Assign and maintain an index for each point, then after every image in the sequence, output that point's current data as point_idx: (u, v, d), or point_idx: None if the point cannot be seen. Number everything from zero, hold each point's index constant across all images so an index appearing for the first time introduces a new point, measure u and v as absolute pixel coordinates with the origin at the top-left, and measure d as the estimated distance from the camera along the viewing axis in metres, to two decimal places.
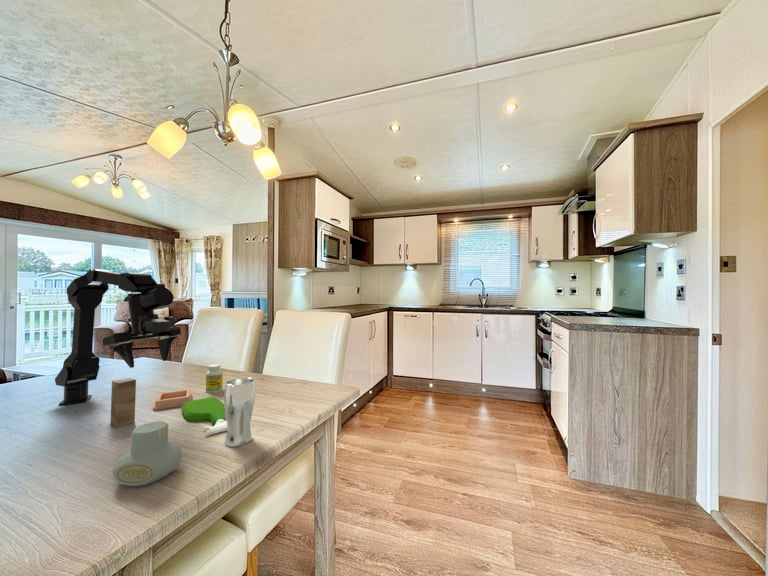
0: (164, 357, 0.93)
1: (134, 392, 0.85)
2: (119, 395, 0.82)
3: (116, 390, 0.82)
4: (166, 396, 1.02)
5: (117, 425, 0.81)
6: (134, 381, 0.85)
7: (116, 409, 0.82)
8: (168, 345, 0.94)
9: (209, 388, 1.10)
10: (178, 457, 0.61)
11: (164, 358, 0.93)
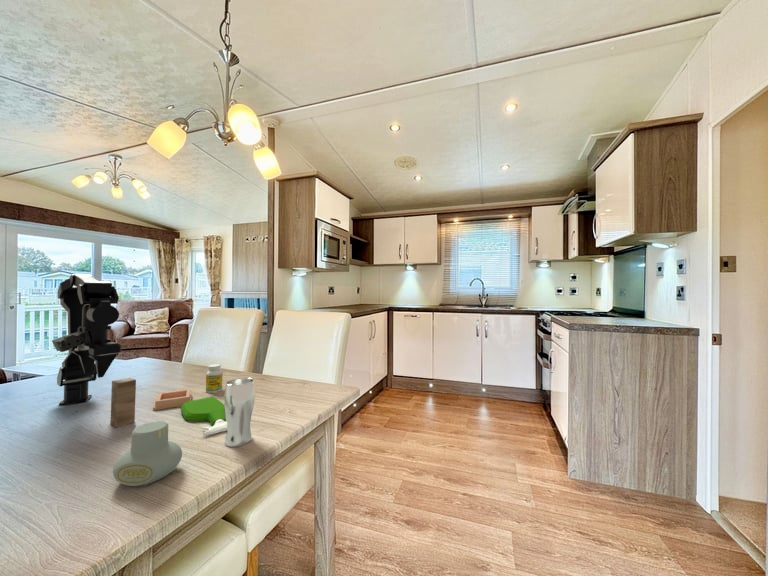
0: None
1: (134, 392, 0.85)
2: (119, 395, 0.82)
3: (116, 390, 0.82)
4: (166, 396, 1.02)
5: (117, 425, 0.81)
6: (134, 381, 0.85)
7: (116, 409, 0.82)
8: (96, 362, 0.85)
9: (209, 388, 1.10)
10: (178, 457, 0.61)
11: None
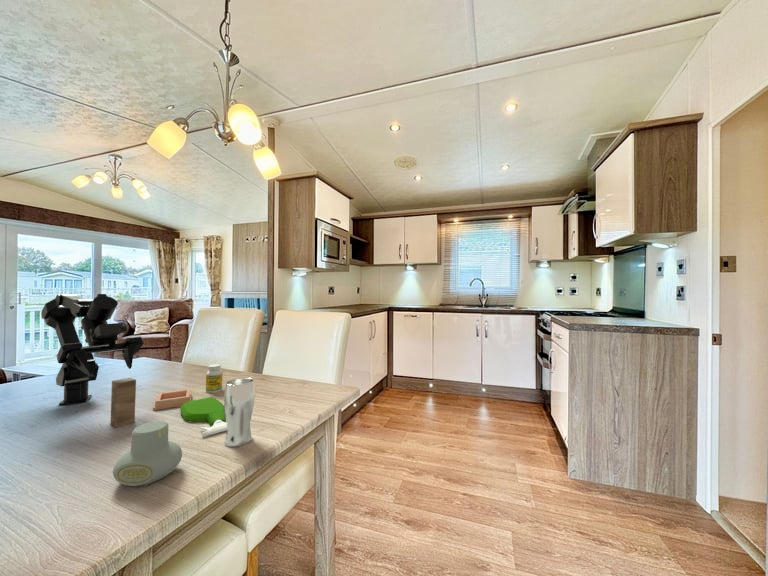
0: (129, 364, 0.92)
1: (134, 392, 0.85)
2: (119, 395, 0.82)
3: (116, 390, 0.82)
4: (166, 396, 1.02)
5: (117, 425, 0.81)
6: (134, 381, 0.85)
7: (116, 409, 0.82)
8: (130, 352, 0.94)
9: (209, 388, 1.10)
10: (178, 457, 0.61)
11: (129, 365, 0.92)
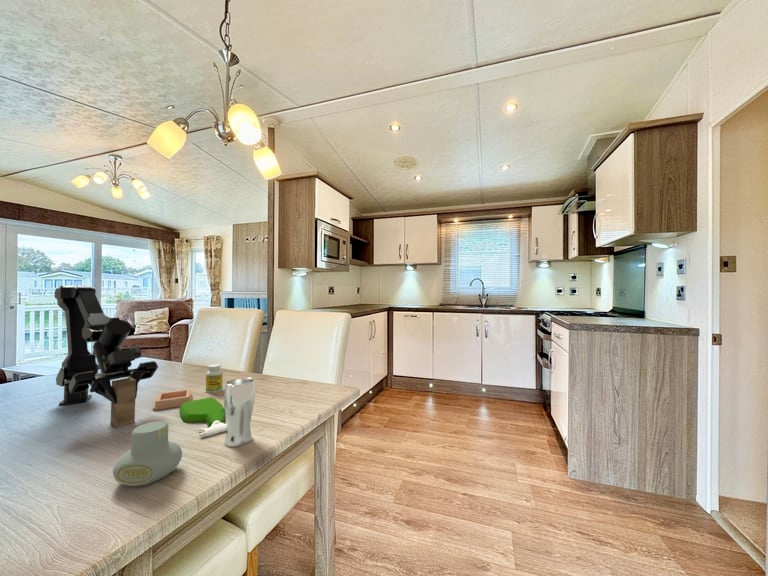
0: None
1: (134, 392, 0.85)
2: (119, 395, 0.82)
3: (116, 390, 0.82)
4: (166, 396, 1.02)
5: (117, 425, 0.81)
6: (134, 381, 0.85)
7: (116, 409, 0.82)
8: None
9: (209, 388, 1.10)
10: (178, 457, 0.61)
11: None
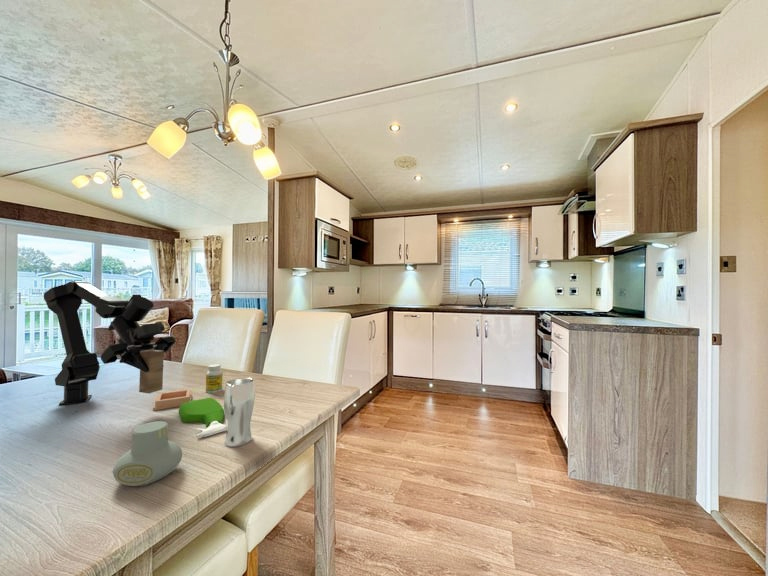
0: None
1: (162, 362, 0.92)
2: (151, 364, 0.89)
3: (147, 360, 0.89)
4: (166, 396, 1.02)
5: (149, 391, 0.89)
6: (162, 352, 0.92)
7: (148, 377, 0.89)
8: None
9: (209, 388, 1.10)
10: (178, 457, 0.61)
11: None
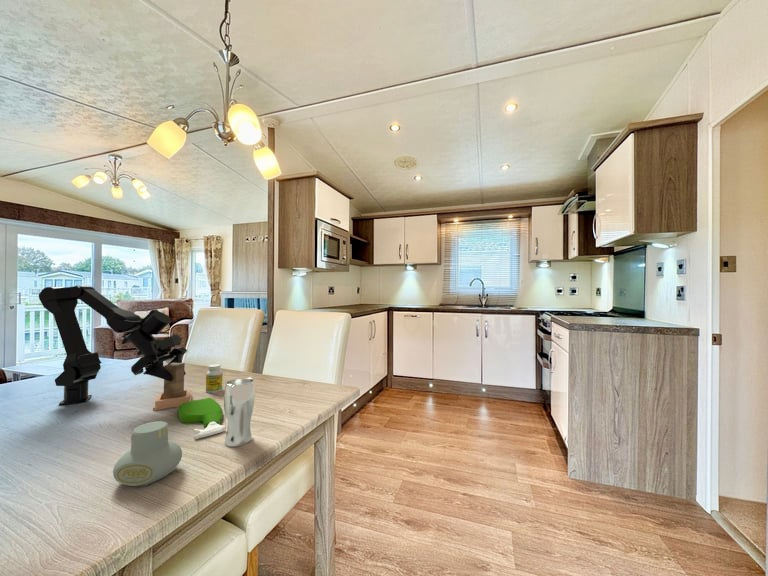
0: None
1: (183, 373, 1.02)
2: (177, 376, 0.98)
3: (173, 372, 0.98)
4: None
5: None
6: (183, 364, 1.02)
7: (174, 387, 0.98)
8: (180, 362, 1.04)
9: (209, 388, 1.10)
10: (178, 457, 0.61)
11: None
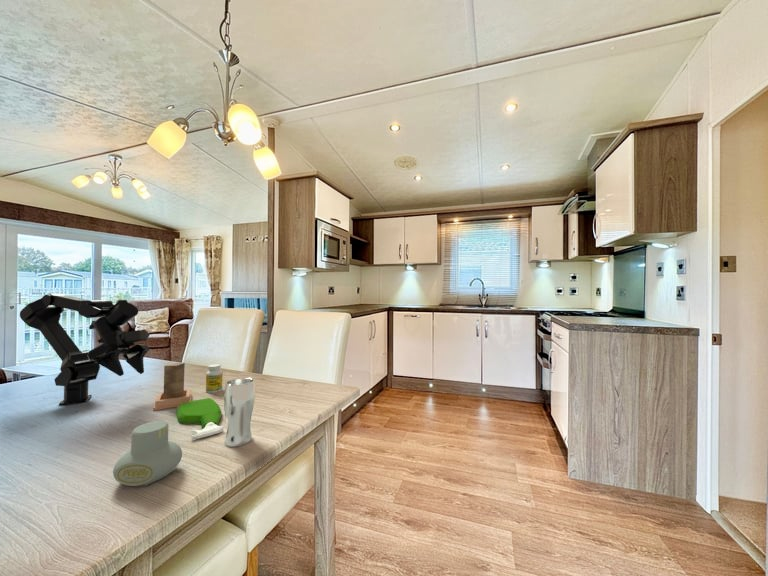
0: (141, 370, 1.00)
1: (183, 373, 1.02)
2: (177, 376, 0.98)
3: (173, 372, 0.98)
4: None
5: None
6: (183, 364, 1.02)
7: (174, 387, 0.98)
8: (141, 359, 1.02)
9: (209, 388, 1.10)
10: (178, 457, 0.61)
11: (141, 370, 1.00)
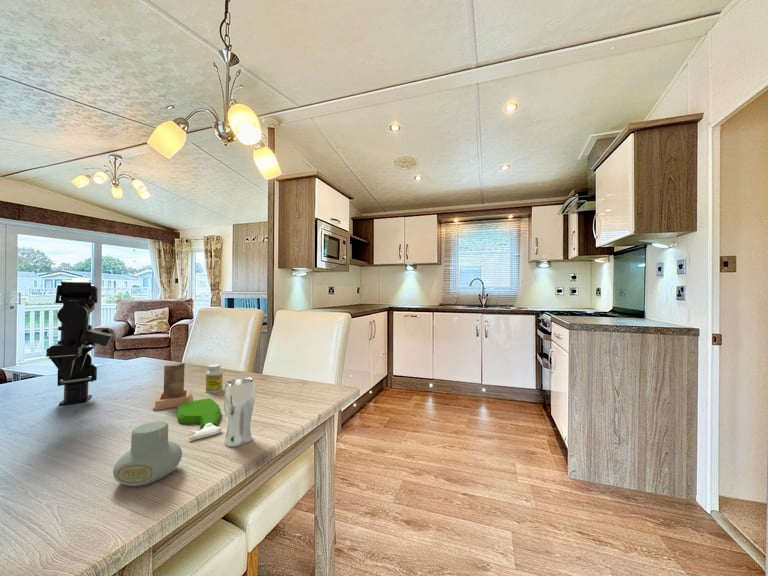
0: (79, 367, 0.93)
1: (183, 373, 1.02)
2: (177, 376, 0.98)
3: (173, 372, 0.98)
4: None
5: None
6: (183, 364, 1.02)
7: (174, 387, 0.98)
8: (86, 355, 0.94)
9: (209, 388, 1.10)
10: (178, 457, 0.61)
11: (79, 368, 0.93)
